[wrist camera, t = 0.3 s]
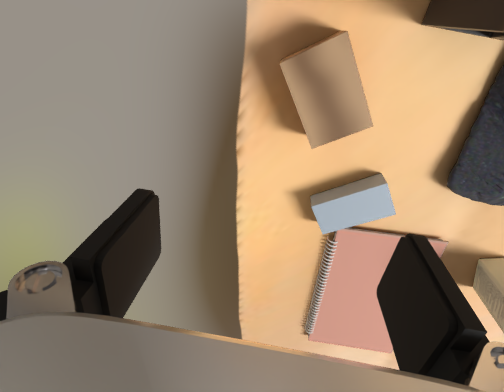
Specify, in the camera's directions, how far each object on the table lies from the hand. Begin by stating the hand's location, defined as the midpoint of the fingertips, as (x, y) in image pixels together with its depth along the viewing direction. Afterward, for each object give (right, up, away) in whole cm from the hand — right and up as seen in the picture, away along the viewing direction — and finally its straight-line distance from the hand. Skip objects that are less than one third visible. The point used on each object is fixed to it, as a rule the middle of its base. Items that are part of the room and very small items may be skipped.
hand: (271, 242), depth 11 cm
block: (+8, +15, +24) cm, 29 cm away
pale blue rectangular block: (+13, +1, +31) cm, 34 cm away
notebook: (+19, -15, +40) cm, 47 cm away
